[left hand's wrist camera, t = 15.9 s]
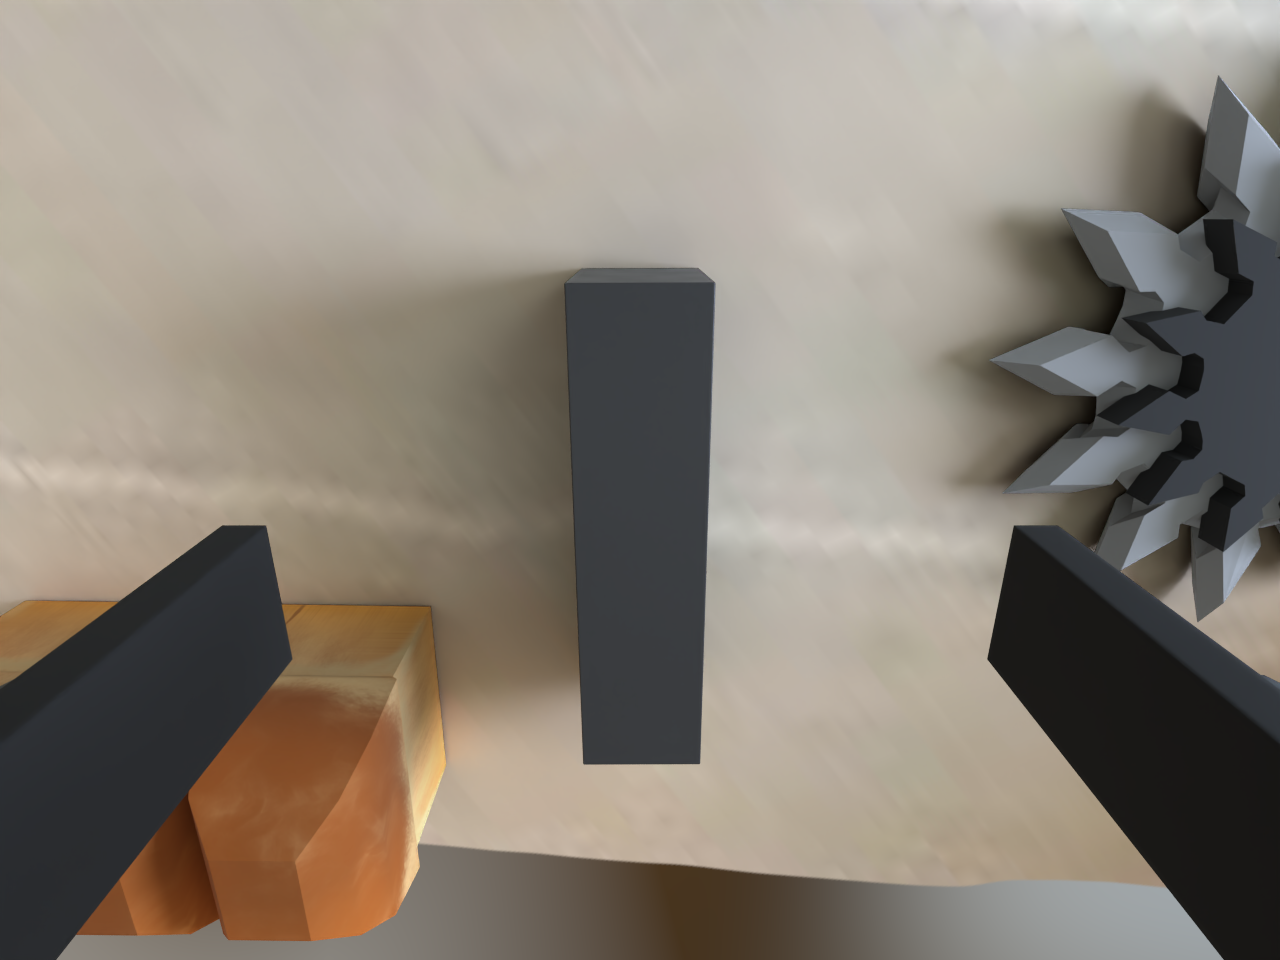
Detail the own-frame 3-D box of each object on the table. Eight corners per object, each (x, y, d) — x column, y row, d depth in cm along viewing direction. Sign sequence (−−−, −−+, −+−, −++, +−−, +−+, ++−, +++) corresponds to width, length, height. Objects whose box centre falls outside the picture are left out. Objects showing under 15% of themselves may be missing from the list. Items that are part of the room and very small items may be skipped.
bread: (437, 602, 42) (338, 789, 28) (453, 768, 47) (374, 1001, 33) (16, 595, 42) (-289, 781, 28) (71, 763, 47) (-170, 995, 33)
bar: (581, 268, 36) (564, 282, 28) (698, 268, 36) (715, 282, 28) (593, 665, 44) (583, 765, 36) (689, 665, 44) (700, 764, 36)
